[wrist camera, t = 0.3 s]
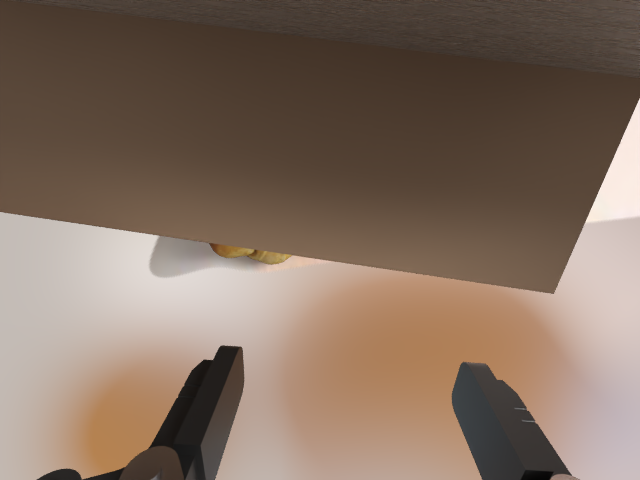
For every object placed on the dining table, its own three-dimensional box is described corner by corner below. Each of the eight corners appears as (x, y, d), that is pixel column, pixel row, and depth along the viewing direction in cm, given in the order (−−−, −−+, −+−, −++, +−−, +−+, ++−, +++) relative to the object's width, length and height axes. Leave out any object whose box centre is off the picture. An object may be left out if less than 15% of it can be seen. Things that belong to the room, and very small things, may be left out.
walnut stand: (266, 37, 32) (-782, -1274, 2) (397, 53, 32) (1263, -1321, 2) (260, 143, 36) (-168, 187, 6) (377, 159, 36) (553, 294, 5)
